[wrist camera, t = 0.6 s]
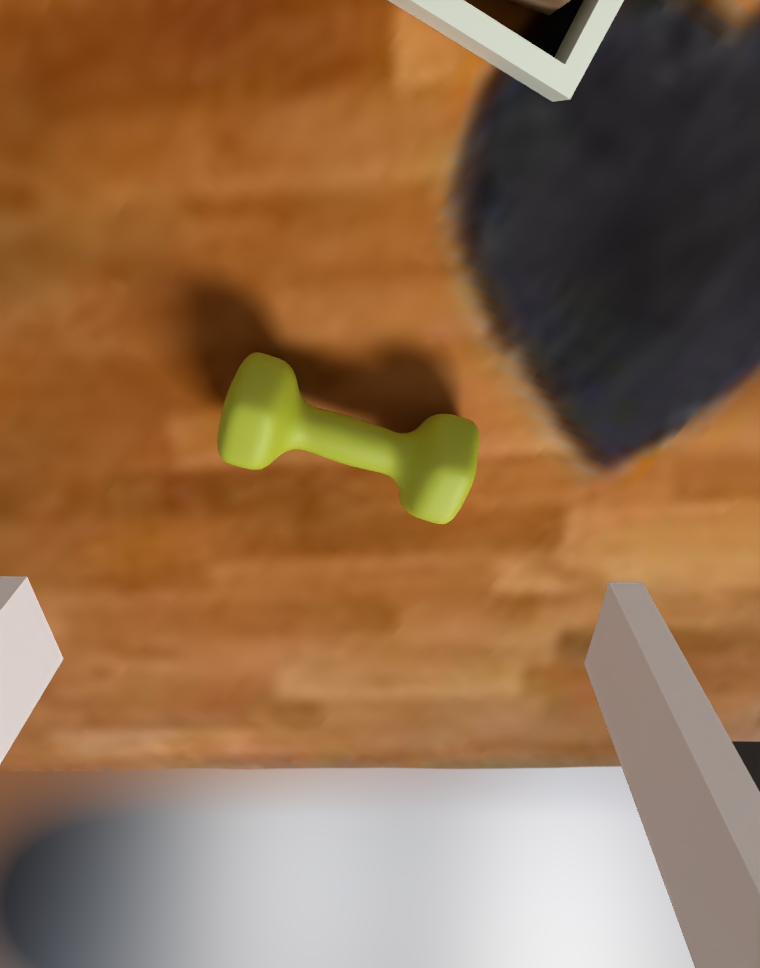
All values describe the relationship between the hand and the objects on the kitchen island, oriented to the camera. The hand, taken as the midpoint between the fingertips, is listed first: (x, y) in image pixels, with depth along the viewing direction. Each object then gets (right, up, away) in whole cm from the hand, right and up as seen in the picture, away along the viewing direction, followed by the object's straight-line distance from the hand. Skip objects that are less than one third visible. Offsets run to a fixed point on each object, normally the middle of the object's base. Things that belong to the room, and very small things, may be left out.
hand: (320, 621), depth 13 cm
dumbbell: (0, +8, +27) cm, 28 cm away
